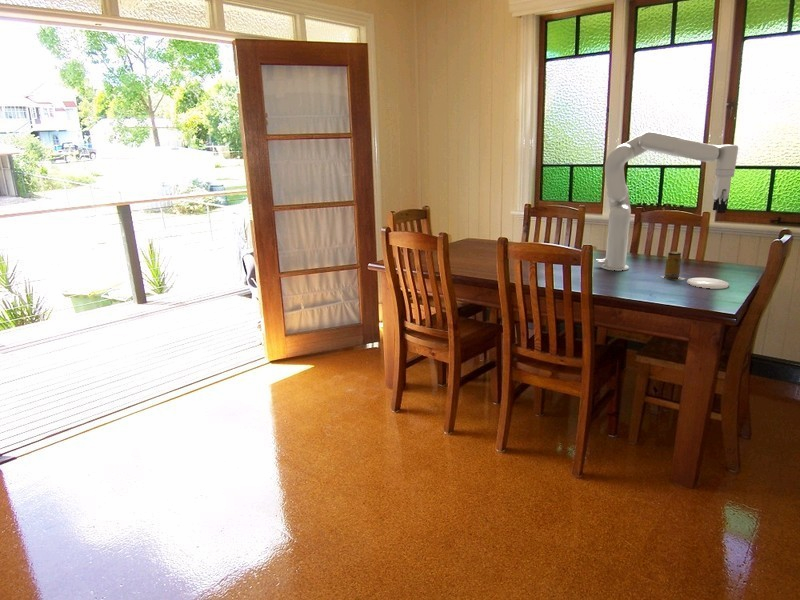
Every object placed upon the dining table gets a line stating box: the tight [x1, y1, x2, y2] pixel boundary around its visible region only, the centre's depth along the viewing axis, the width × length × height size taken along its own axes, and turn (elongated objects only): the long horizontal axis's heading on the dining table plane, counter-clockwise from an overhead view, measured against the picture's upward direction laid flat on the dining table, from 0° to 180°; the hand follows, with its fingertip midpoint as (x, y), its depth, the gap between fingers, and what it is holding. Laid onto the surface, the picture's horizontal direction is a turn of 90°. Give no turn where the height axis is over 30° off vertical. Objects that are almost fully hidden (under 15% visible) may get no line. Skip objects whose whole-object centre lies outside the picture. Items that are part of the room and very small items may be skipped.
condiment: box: [660, 251, 686, 281], centre depth 249 cm, size 7×8×12 cm
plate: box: [686, 277, 730, 290], centre depth 239 cm, size 16×16×1 cm
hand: (718, 211), depth 247 cm, fingers open, 9 cm apart
